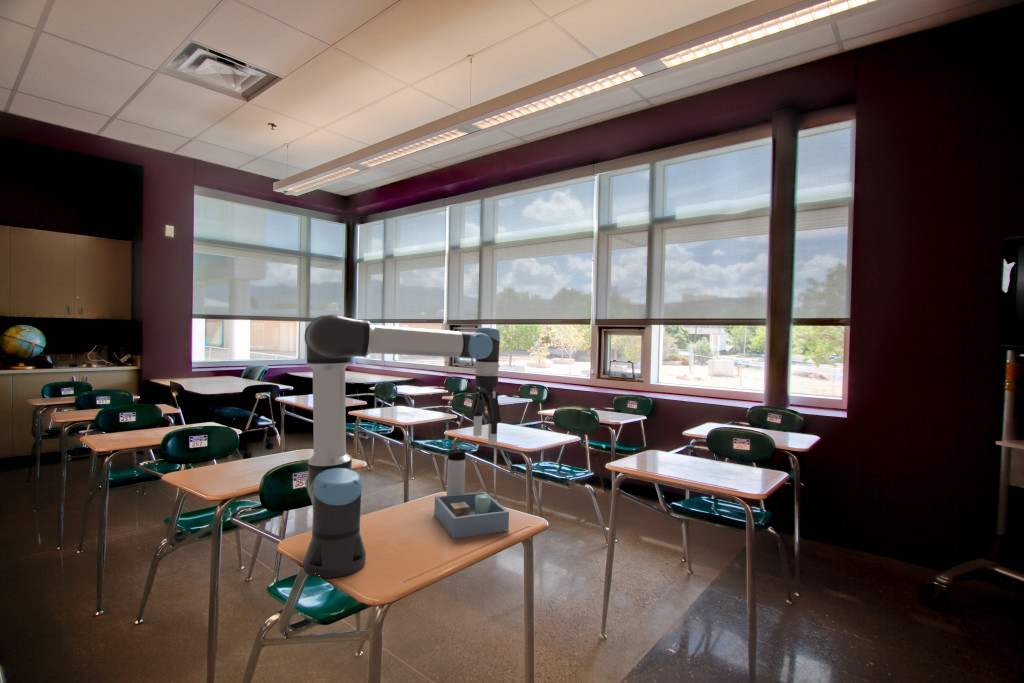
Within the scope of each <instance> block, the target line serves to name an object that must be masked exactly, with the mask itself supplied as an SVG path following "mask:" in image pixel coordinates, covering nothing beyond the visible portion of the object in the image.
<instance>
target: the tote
mask: <svg viewBox="0 0 1024 683" xmlns="http://www.w3.org/2000/svg"><path fill="white" fill-rule="evenodd" d="M478 494H487V495H489V494H488V493H487V491H479V492H468V493H464V494H457V495H447V494H446V495H440V496H434V512H433V513H434V516H435V517H436V518H437V520H438V521H439V523H440V524H441V525H442V526H443V528H444V529H445V531H446V532H447V533H448V534H449V535H450V536H451V538H452V539H461V538H468V537H476V536H483V535H490V534H495V533H496V532H498V533H502V532H501V531H505V532H507V531H506V530H508V531H509V529H510V528H509V524H510V512H509V510H508V509H506V508H505V507H504V506H503V505H502V504H500V503H499V502H498V501H497V500H496V499H495V498H493V497H492V496H491V495H490V513H485V514H477V515H475V496H476V495H478ZM459 502H465V503H466V504H467V505H468V506H469V507H470V513H469V516H461V517H456V516H455V515H454V514H453V513H452V512H451V511H450V503H459Z"/></svg>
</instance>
